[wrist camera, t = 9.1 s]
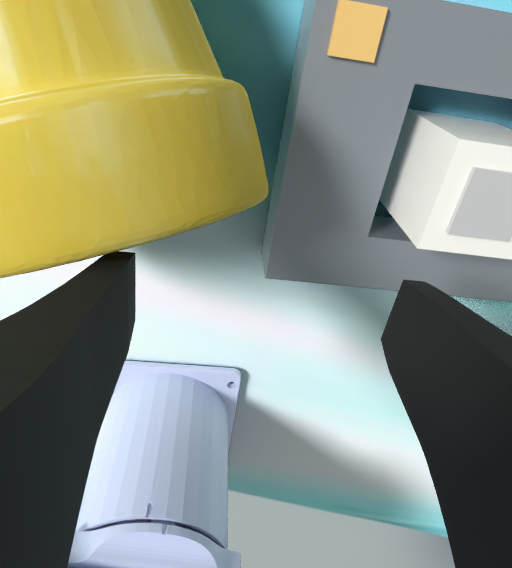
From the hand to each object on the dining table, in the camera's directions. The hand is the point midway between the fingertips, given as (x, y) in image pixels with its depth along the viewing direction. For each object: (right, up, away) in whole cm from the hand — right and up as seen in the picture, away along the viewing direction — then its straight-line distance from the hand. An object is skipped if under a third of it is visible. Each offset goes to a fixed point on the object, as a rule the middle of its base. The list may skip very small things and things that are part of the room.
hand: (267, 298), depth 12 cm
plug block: (+8, +6, +8) cm, 13 cm away
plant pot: (-7, +11, 0) cm, 13 cm away
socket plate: (+8, +6, +8) cm, 13 cm away
